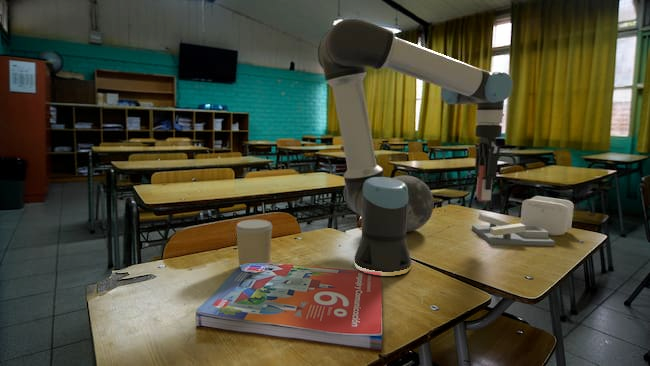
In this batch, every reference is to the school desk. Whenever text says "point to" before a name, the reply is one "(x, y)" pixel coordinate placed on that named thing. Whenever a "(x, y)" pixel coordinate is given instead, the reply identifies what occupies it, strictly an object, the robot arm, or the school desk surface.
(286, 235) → the school desk surface
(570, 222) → the cable organizer
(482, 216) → the block
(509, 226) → the block
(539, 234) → the panel
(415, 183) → the moon model
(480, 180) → the red capsule
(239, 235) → the coffee cup
